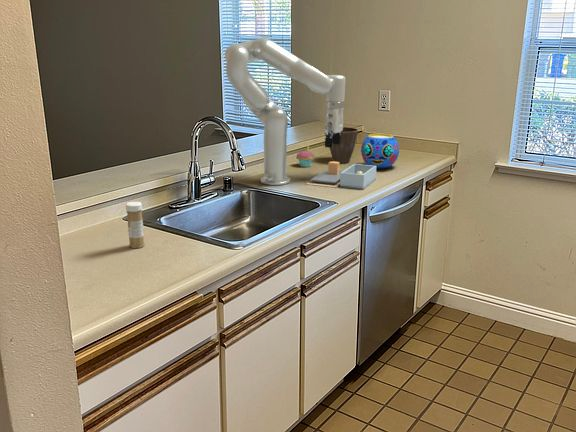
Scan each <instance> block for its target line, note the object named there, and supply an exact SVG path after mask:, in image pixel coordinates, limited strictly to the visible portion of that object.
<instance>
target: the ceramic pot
mask: <svg viewBox="0 0 576 432" xmlns="http://www.w3.org/2000/svg"><path fill="white" fill-rule="evenodd" d="M360 152H361V157H362V160H363V162H364V163H365V165H372V166H376V169H386V168H389V167H391V166H393V165H394V164H395V163H396V161H397V160H398V157H399V153H400V146H399V142H398V140H397V139H396V138H395V136H394V135H392V134H387V133H372V134H371V133H370V134H368V135H367V136H366V137H365V138H364V140H363V141H362V144H361V148H360Z"/></svg>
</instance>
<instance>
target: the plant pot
mask: <svg viewBox="0 0 576 432" xmlns="http://www.w3.org/2000/svg"><path fill="white" fill-rule="evenodd" d="M358 133H359V129H358V128H355V127H347V126H346V127H344V126H343V130H342V131H341V137H340V144H332V148H329V150H330V153H331V158H332V160H333V161H334V162H340V165H341V164H342V165H343V164H348V163H350V161H351V158H352V155H353V152H354V150H355V146H356V143H357V137H358ZM333 134H334V133H333ZM330 135H331V133H330ZM332 138H333V136H332Z"/></svg>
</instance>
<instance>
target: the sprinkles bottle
mask: <svg viewBox="0 0 576 432" xmlns="http://www.w3.org/2000/svg"><path fill="white" fill-rule="evenodd" d="M125 210H126V215H127V216H126V218H127V226H128V227H127V229H128V231H127V232H128V238H129V247H130V248H132V249H138V248H139V249H140V248H144V246H145V237H144V236H145V232H144V220H143V213H142V212H143V211H142V210H143V205H142V202H140V201H129V202H126V203H125Z"/></svg>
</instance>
